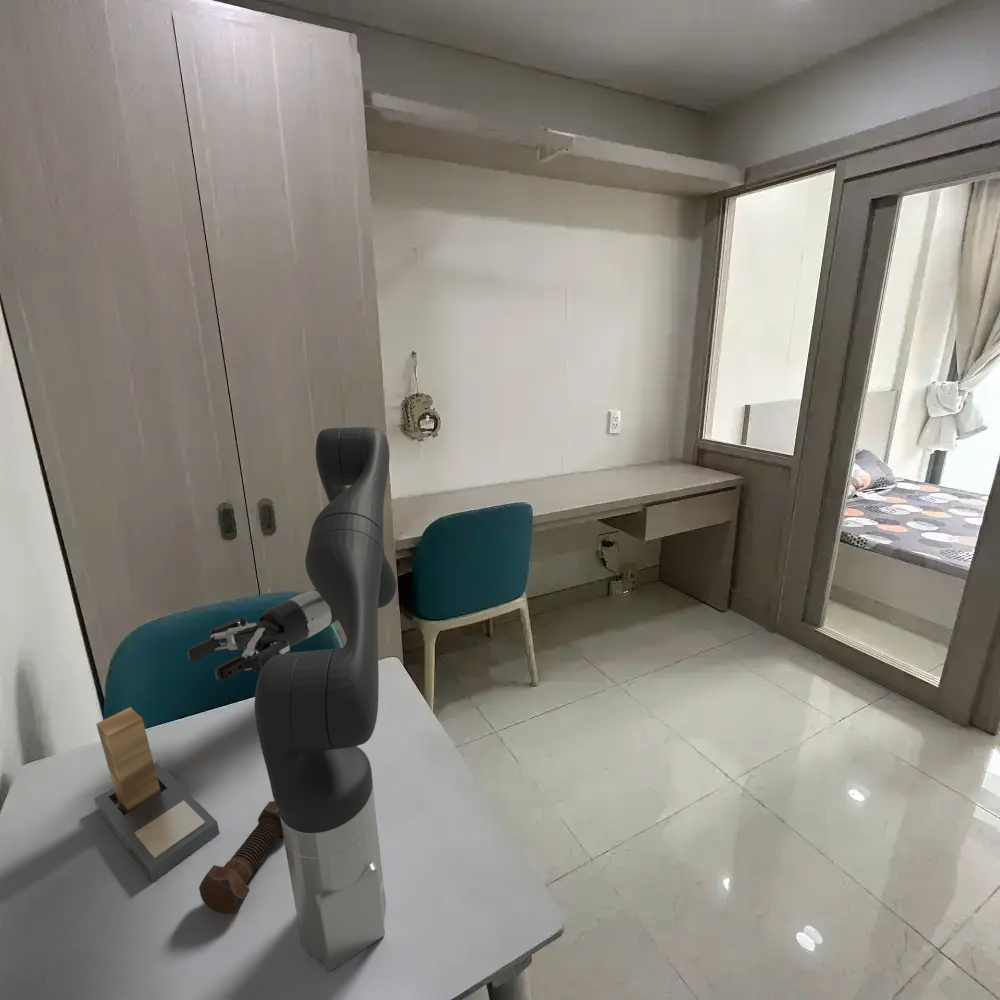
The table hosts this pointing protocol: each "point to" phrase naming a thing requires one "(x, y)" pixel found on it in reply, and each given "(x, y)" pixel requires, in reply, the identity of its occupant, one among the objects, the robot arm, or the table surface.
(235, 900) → the bolt
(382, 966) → the table surface
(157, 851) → the socket plate
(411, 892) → the table surface
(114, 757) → the wooden peg
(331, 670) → the robot arm
